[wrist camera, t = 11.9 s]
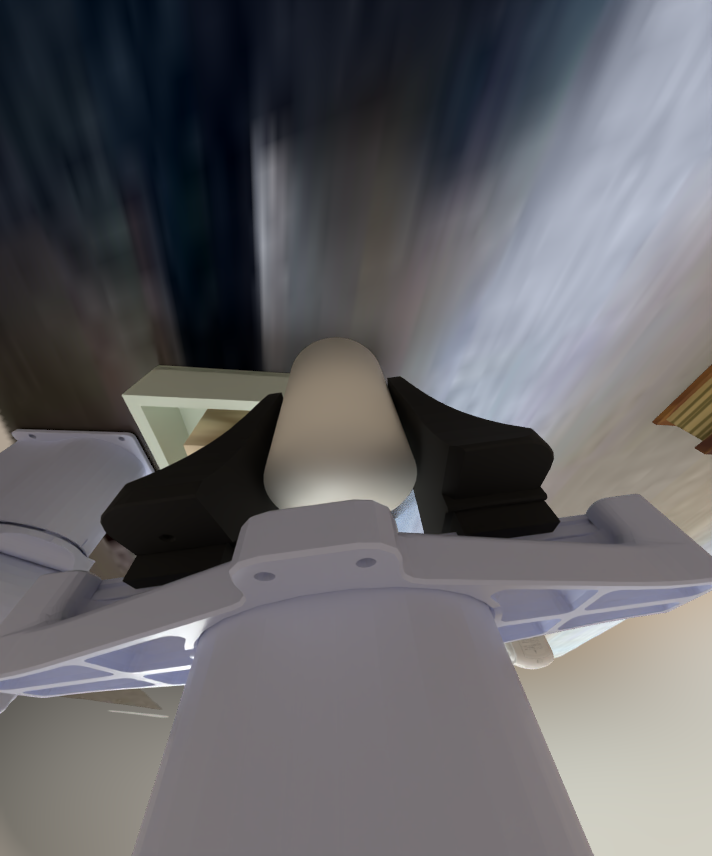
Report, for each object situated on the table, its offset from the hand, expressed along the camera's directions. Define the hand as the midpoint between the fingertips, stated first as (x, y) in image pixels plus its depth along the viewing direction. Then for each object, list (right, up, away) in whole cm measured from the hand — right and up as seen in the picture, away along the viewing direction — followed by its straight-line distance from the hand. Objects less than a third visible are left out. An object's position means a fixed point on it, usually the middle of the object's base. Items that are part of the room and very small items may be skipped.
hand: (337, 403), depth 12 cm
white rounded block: (+38, -44, +51) cm, 78 cm away
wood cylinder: (0, +1, +1) cm, 2 cm away
